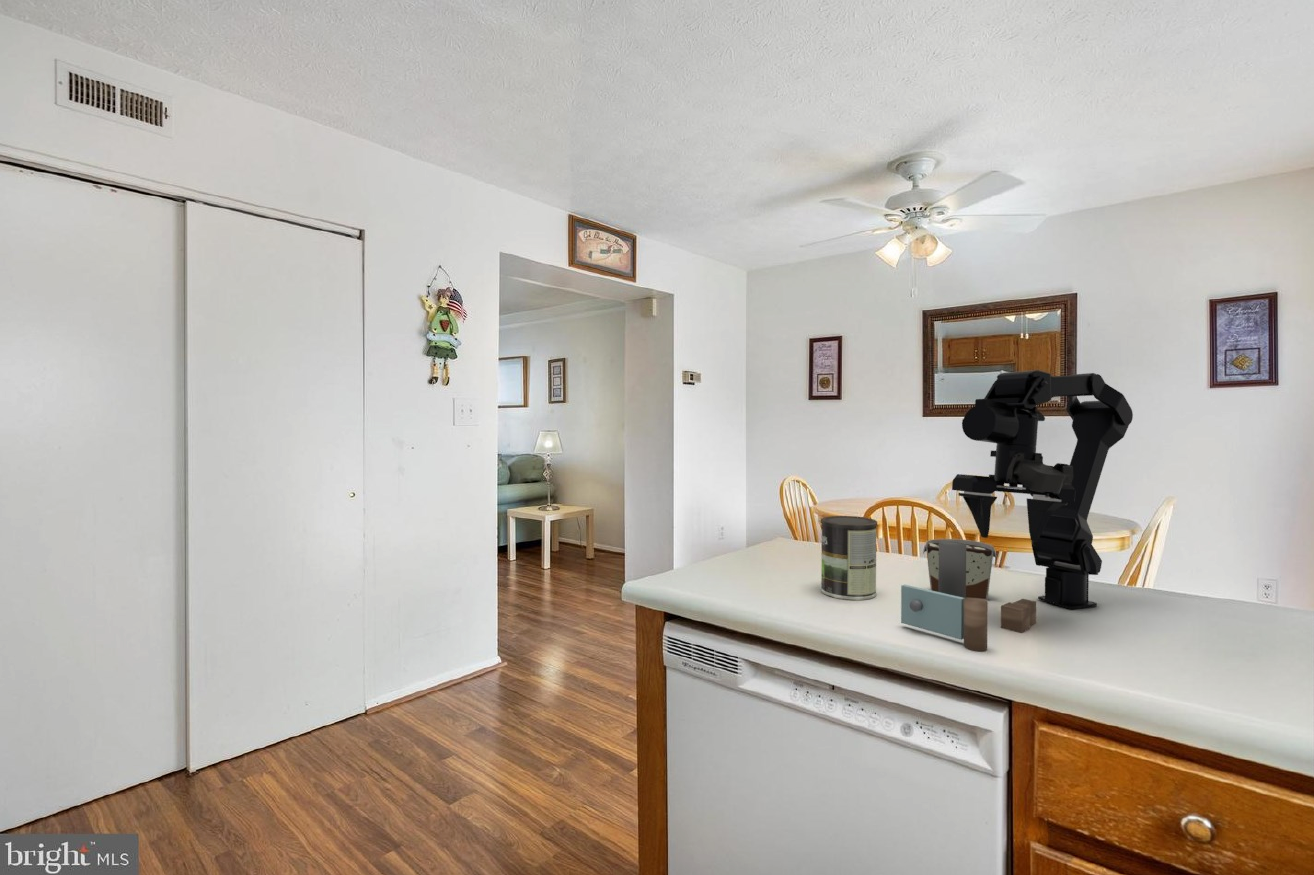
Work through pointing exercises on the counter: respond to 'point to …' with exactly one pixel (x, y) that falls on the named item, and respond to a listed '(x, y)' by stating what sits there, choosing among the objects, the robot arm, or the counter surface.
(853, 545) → the coffee can
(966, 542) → the food container
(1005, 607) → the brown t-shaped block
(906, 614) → the door
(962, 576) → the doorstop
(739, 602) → the counter surface
